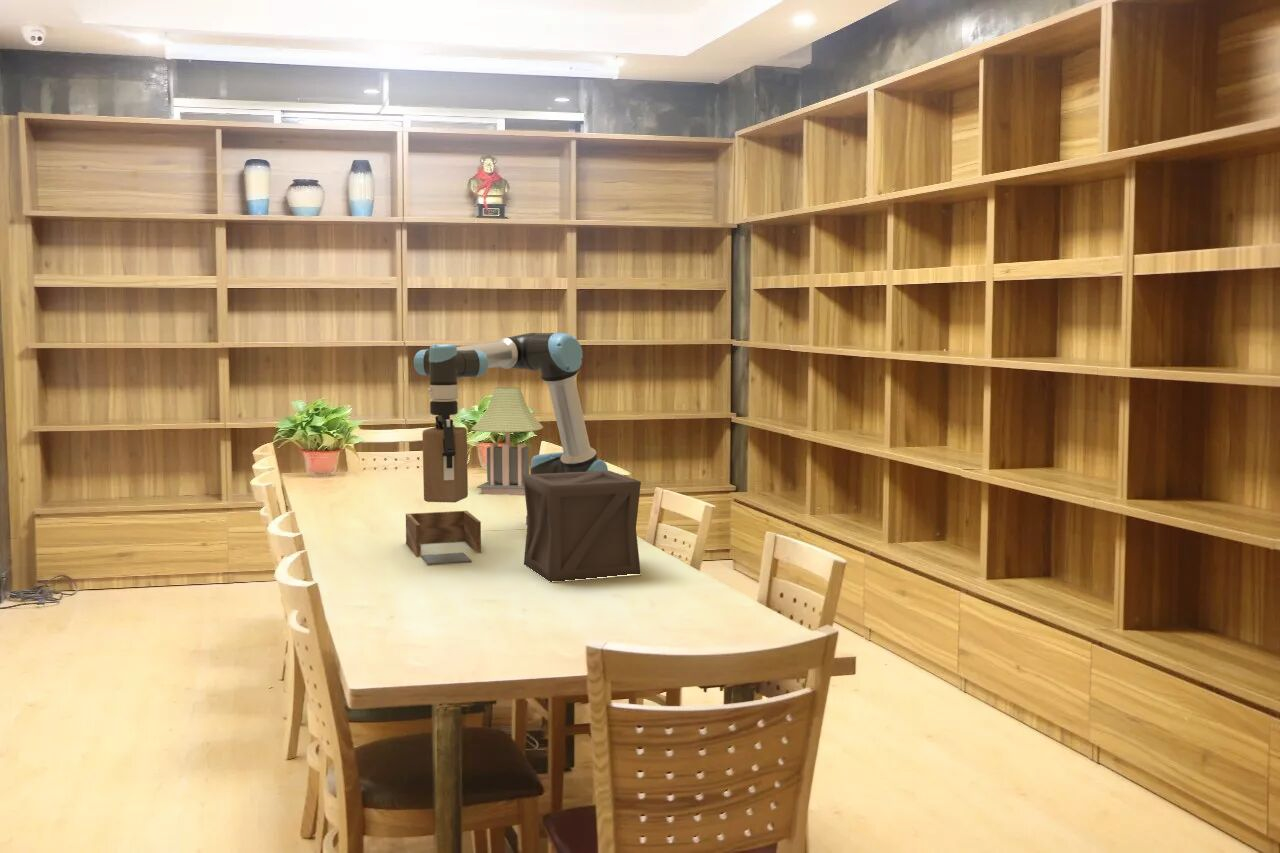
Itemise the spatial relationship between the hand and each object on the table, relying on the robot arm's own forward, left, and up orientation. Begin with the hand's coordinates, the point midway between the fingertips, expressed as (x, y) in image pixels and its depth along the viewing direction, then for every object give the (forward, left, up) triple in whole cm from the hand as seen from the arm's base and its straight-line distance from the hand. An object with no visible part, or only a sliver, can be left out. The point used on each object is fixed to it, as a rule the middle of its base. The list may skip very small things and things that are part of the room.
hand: (444, 477), depth 347 cm
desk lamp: (-45, -125, -23) cm, 135 cm away
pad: (0, 0, -23) cm, 23 cm away
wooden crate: (-32, +25, -24) cm, 47 cm away
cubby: (-2, -18, -23) cm, 29 cm away
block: (0, 0, -7) cm, 7 cm away
